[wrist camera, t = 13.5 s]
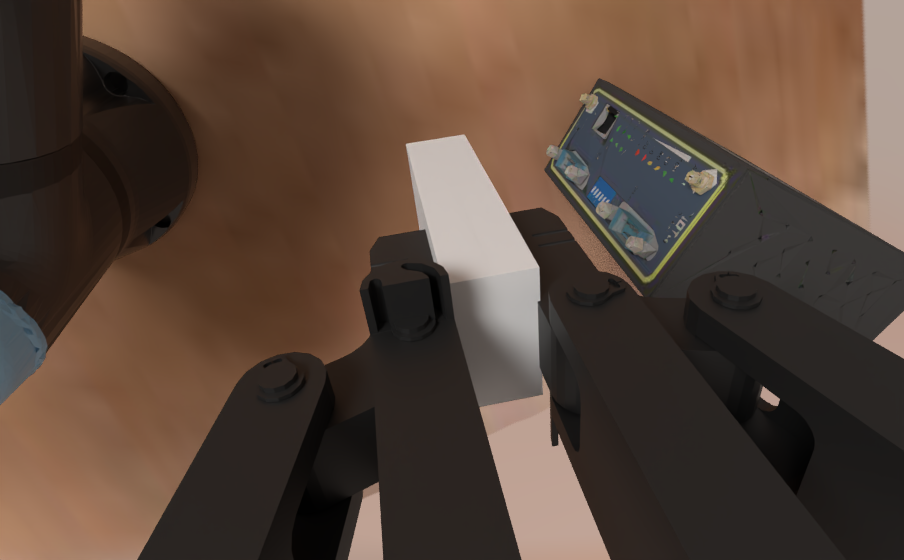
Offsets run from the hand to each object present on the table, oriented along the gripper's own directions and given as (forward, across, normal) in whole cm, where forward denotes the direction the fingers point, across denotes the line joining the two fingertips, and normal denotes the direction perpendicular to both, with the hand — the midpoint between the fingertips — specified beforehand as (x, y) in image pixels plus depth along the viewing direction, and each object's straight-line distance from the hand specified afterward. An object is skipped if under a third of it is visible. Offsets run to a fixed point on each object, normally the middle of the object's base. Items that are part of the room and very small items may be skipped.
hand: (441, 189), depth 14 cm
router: (+27, +19, -13) cm, 36 cm away
